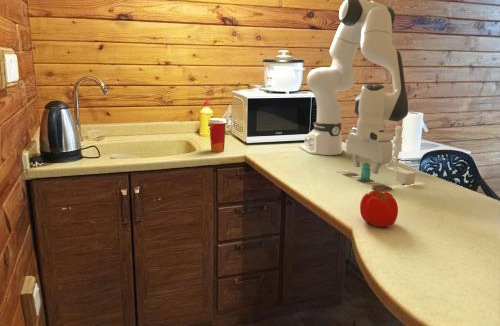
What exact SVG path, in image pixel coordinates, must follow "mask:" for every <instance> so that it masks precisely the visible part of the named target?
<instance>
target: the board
mask: <svg viewBox="0 0 500 326" xmlns="http://www.w3.org/2000/svg"><path fill="white" fill-rule="evenodd" d="M335 173H337V174H340V175H342V176H345V177H348V178H349V179H352V180H355V181H357V182H358V183H362V184H365V185H366V186H369V187H371V191H373V190H378V191H381V192H388V191H392V190H393V188H392V187H391V186H388V185H386V184H383V183H381V182H379V181H376V180H374V179H371V178H370V181H369V182H364V181H361V174H358V173H356V172H352V171H350V170H347V169H346V170H337V171H335Z"/></svg>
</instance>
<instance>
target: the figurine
mask: <svg viewBox="0 0 500 326" xmlns="http://www.w3.org/2000/svg"><path fill="white" fill-rule="evenodd" d="M394 130H395V136H394V139H393V140H392V141H393V142H392V144H393V152H392V160H394V167H393V166H390V167H389V165H390V164H391V162H392V160H391V161H390V162H389V163H386V164H385V166H386V167H385V168H386V169H389V170H391V171H394V172H397V171H400V170H405V169H404V168H402V167H399V166H398V157H399V155H400V153H401V152H402V151H403V150H402V149H403V148H402V145H403V137H402V133H403V130H404V128H403V126H402V125H396V126H395V128H394Z"/></svg>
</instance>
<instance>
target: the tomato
mask: <svg viewBox="0 0 500 326" xmlns="http://www.w3.org/2000/svg"><path fill="white" fill-rule="evenodd" d="M359 210H360V211H359V212H360V215H361V218H362V219H363V221H365V222H366V223H368V224H369V225H370V224H371V225H372V226H374V227H376V228H377V227H378V228H380V227H383V228H388V227H391V226H392V225H394V223H395V222H396V221H397V218H398V215H399V206H398V203H397V200H396V198H395V197H394V195H393V194H392V193H390V191H389V192H388V191H378V190H370V191H369V192H367V193H365V194H364V195H363V196H362V198H361V200H360V206H359Z"/></svg>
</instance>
